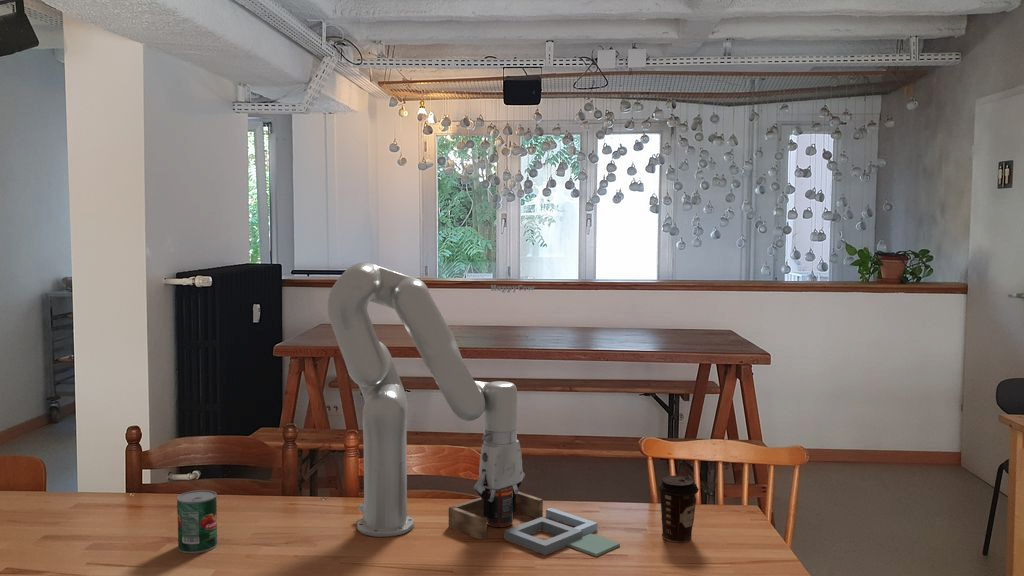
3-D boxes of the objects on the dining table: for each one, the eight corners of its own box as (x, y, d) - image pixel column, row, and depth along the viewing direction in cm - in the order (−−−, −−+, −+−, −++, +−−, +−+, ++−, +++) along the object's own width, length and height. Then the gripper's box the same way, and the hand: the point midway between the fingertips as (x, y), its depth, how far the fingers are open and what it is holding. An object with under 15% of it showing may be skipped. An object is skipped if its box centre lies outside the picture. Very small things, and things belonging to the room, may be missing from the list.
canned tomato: (177, 542, 178) (176, 492, 177) (216, 537, 181) (215, 488, 180) (178, 556, 171) (177, 504, 170) (219, 550, 174) (217, 499, 173)
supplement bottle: (516, 521, 192) (517, 473, 191) (506, 530, 186) (506, 480, 186) (493, 517, 194) (494, 470, 193) (482, 525, 189) (482, 477, 188)
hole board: (504, 539, 181) (504, 530, 181) (541, 525, 189) (541, 516, 189) (545, 555, 173) (545, 545, 172) (582, 539, 181) (582, 530, 181)
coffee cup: (699, 533, 185) (701, 476, 184) (695, 547, 177) (696, 487, 176) (660, 528, 188) (661, 472, 187) (654, 541, 180) (655, 483, 179)
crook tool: (531, 522, 192) (531, 514, 192) (551, 515, 197) (551, 507, 196) (577, 538, 182) (578, 530, 182) (597, 530, 187) (597, 522, 187)
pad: (567, 546, 178) (567, 543, 178) (590, 536, 183) (590, 533, 183) (596, 556, 172) (596, 553, 172) (619, 546, 178) (619, 543, 178)
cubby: (448, 526, 188) (448, 507, 188) (508, 506, 202) (508, 488, 202) (482, 540, 180) (482, 520, 180) (542, 518, 194) (542, 499, 194)
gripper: (484, 446, 180) (483, 527, 181) (538, 432, 192) (537, 508, 194) (461, 440, 185) (460, 518, 187) (514, 426, 198) (514, 500, 199)
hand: (499, 512), depth 190 cm, fingers closed on supplement bottle, 6 cm apart
